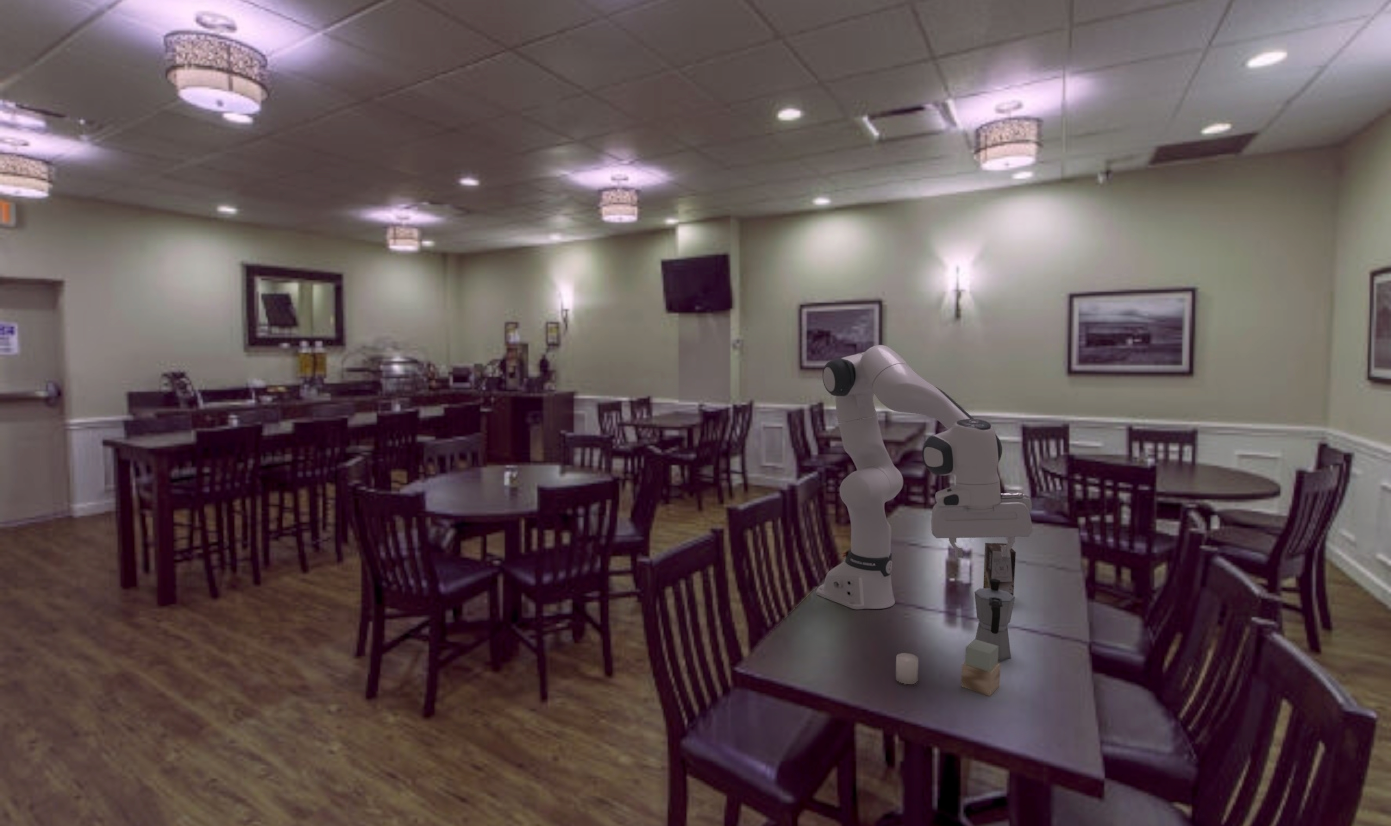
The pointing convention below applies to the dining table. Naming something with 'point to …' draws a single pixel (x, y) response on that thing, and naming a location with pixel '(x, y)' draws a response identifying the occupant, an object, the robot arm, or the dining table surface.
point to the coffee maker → (994, 617)
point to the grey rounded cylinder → (906, 668)
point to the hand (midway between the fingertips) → (982, 556)
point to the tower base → (980, 679)
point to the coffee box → (999, 567)
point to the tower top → (981, 655)
